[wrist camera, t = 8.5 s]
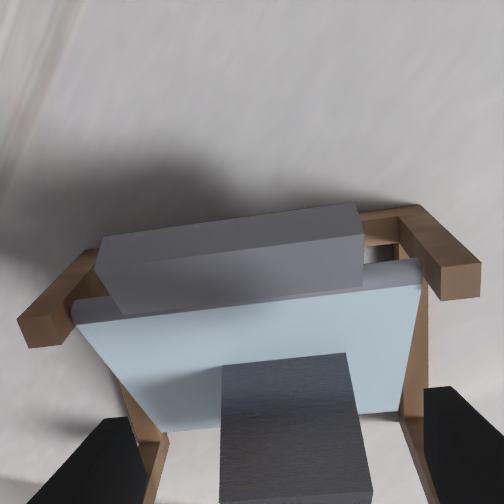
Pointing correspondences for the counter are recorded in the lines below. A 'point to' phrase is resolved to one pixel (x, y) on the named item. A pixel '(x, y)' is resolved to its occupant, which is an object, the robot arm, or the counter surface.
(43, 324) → the frame
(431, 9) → the counter surface
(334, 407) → the iron block
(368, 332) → the trapdoor
